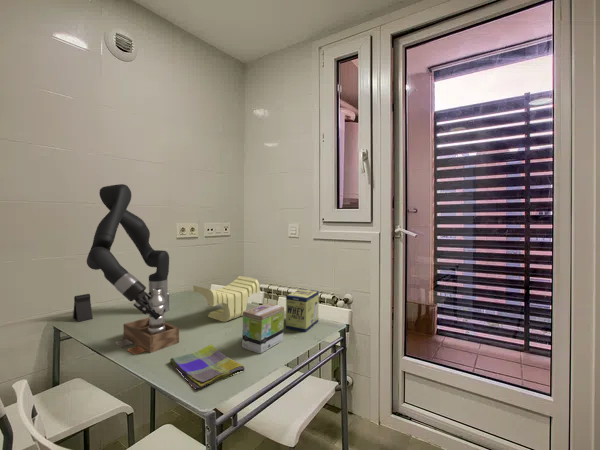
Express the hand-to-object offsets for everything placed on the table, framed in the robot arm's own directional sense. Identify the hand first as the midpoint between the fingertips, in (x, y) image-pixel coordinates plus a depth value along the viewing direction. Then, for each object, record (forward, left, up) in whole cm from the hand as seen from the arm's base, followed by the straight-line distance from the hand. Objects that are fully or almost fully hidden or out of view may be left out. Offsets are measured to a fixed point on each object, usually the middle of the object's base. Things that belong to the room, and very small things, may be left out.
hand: (161, 314), depth 121 cm
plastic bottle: (+1, -1, -9) cm, 10 cm away
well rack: (+3, -7, -12) cm, 14 cm away
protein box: (-52, +34, -12) cm, 63 cm away
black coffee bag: (+9, -59, -12) cm, 61 cm away
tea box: (-25, +34, -12) cm, 43 cm away
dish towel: (0, +31, -12) cm, 33 cm away
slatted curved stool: (-38, -4, -12) cm, 40 cm away
